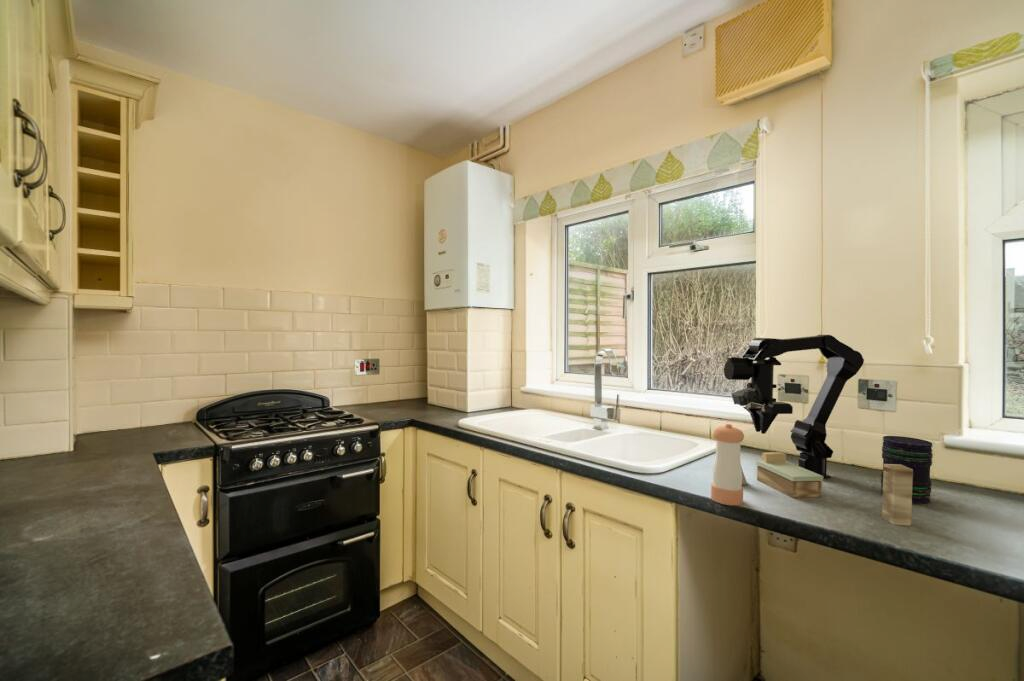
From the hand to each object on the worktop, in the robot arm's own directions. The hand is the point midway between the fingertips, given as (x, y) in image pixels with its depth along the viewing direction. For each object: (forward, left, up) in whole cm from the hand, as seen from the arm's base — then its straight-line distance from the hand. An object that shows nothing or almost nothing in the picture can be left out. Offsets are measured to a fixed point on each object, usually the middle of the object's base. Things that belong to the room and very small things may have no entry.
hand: (760, 432), depth 134 cm
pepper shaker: (+22, +19, -13) cm, 31 cm away
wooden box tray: (0, +12, -12) cm, 17 cm away
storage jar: (-26, +21, -13) cm, 35 cm away
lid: (0, +11, -8) cm, 14 cm away
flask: (+12, +6, -13) cm, 18 cm away
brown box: (-9, +34, -12) cm, 37 cm away
